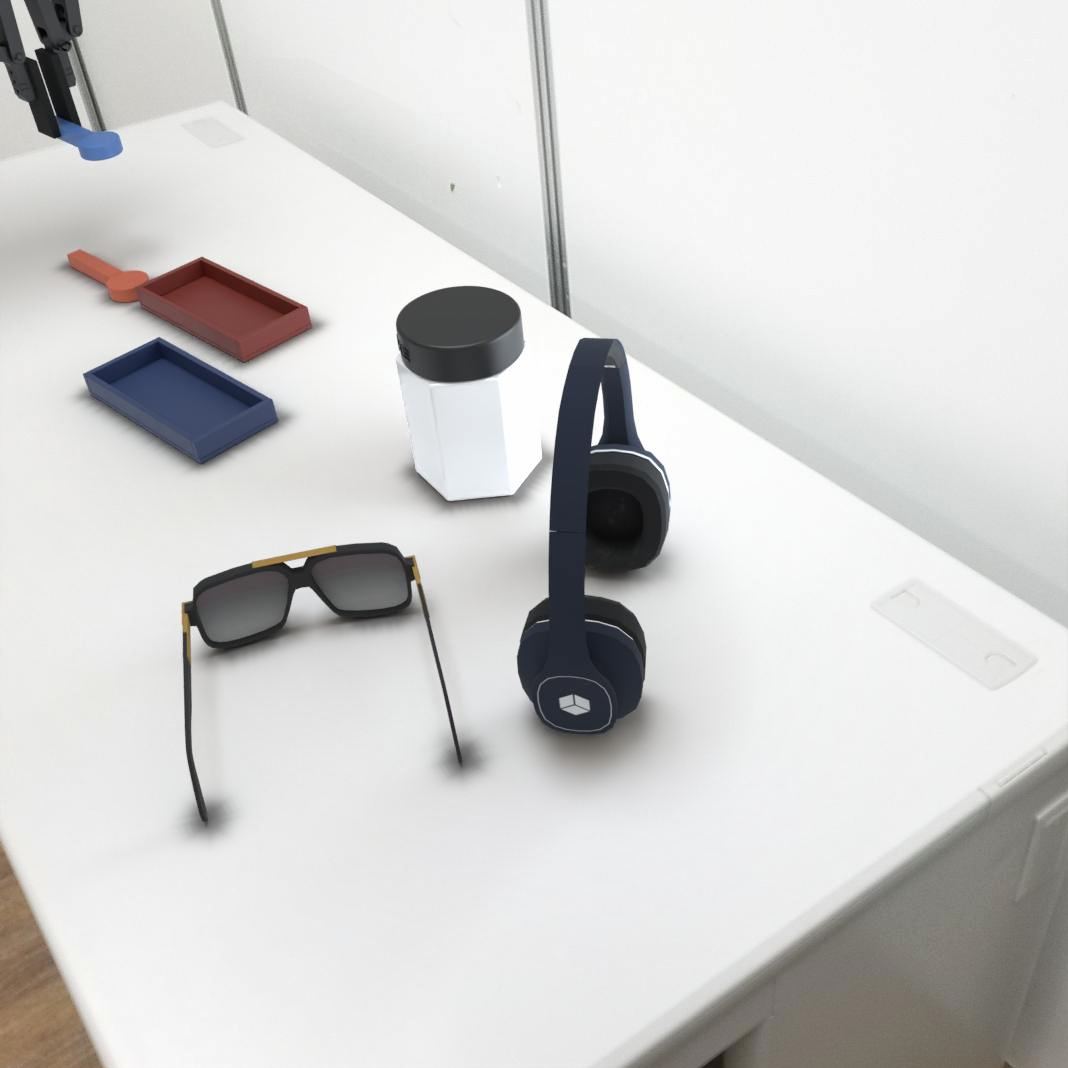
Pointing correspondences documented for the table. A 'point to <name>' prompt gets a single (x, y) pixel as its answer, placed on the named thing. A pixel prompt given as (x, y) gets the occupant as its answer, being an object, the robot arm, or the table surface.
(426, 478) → the jar
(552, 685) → the headphones
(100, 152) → the blue spoon
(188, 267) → the red tray
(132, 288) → the red spoon
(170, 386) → the blue tray
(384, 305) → the table surface
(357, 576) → the sunglasses
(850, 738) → the table surface
